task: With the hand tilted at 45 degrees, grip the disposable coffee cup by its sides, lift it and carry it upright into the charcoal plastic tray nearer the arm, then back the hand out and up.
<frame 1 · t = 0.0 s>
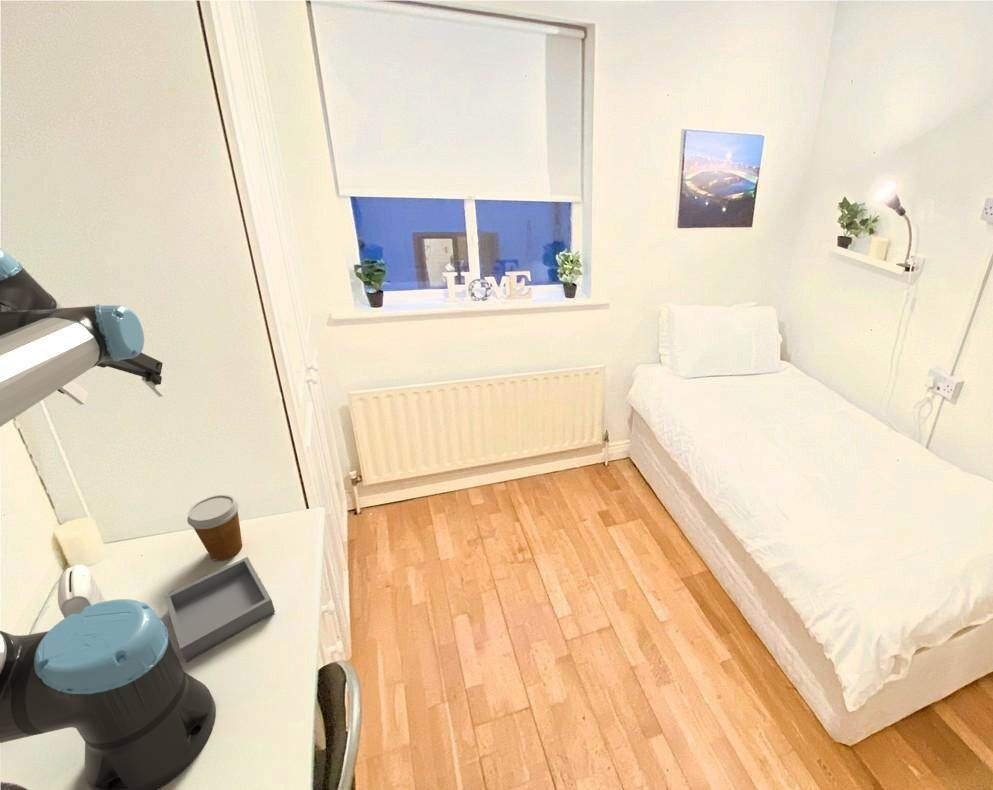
hand: (123, 394, 90), 36 cm above the table, tool tilted 35°, fingers open, 13 cm apart
charcoal tray: (222, 610, 86), on the table
disposable coffee cup: (226, 551, 101), on the table
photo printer: (97, 628, 83), on the table
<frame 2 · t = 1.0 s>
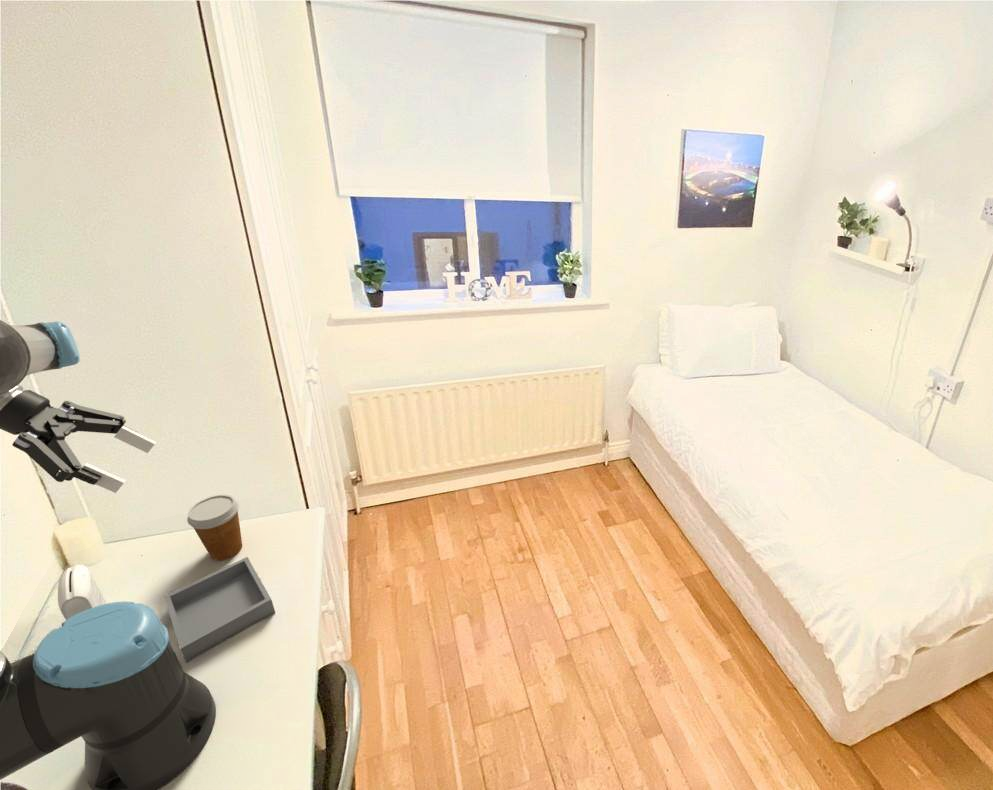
hand: (137, 466, 88), 24 cm above the table, tool tilted 45°, fingers open, 13 cm apart
nothing on the table moved.
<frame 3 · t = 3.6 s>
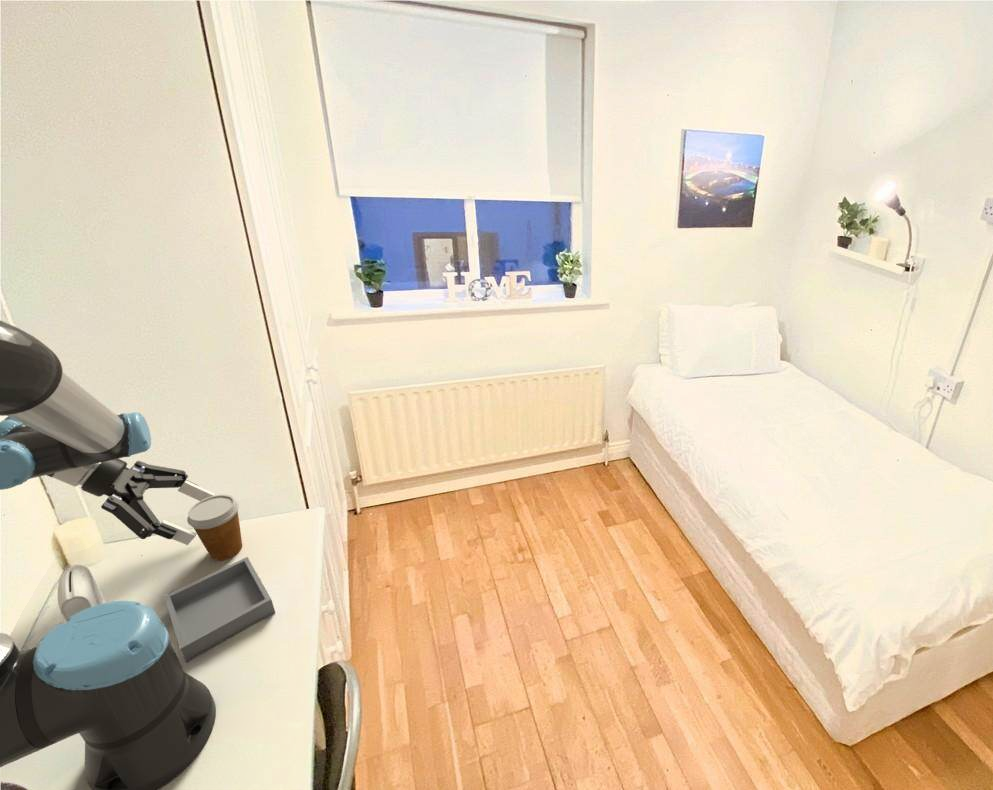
hand: (202, 517, 97), 9 cm above the table, tool tilted 45°, fingers open, 13 cm apart
nothing on the table moved.
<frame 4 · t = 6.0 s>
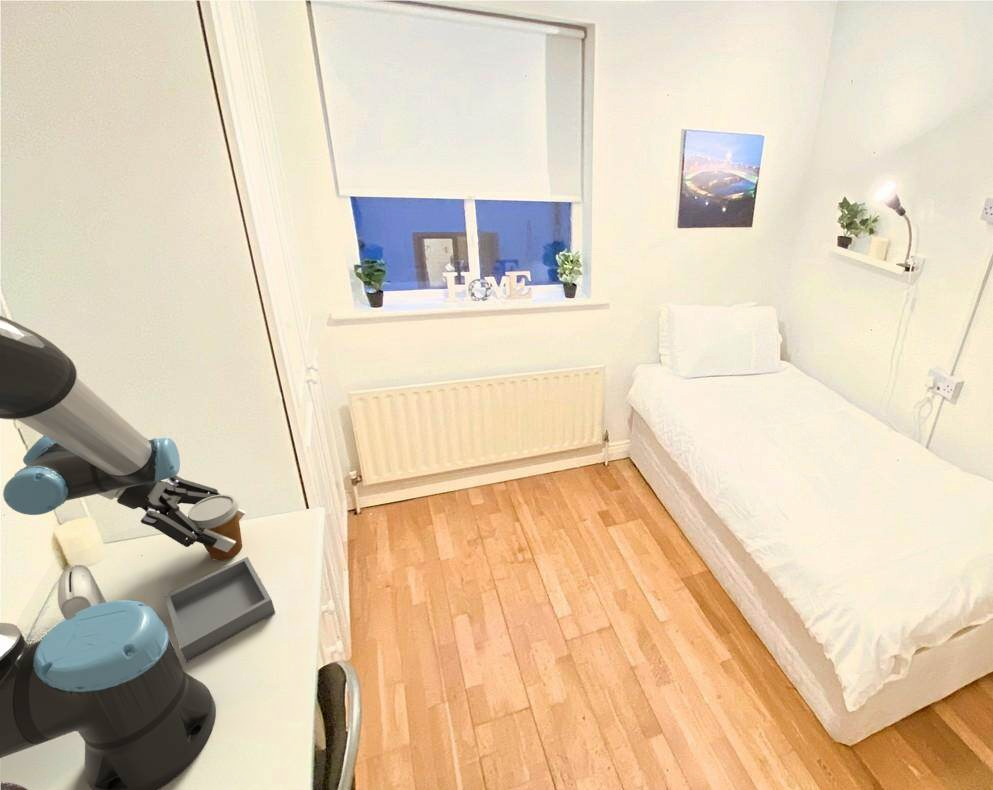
hand: (237, 531, 99), 5 cm above the table, tool tilted 45°, fingers closed on disposable coffee cup, 9 cm apart
disposable coffee cup: (226, 550, 101), on the table, touching gripper
everything else where it was.
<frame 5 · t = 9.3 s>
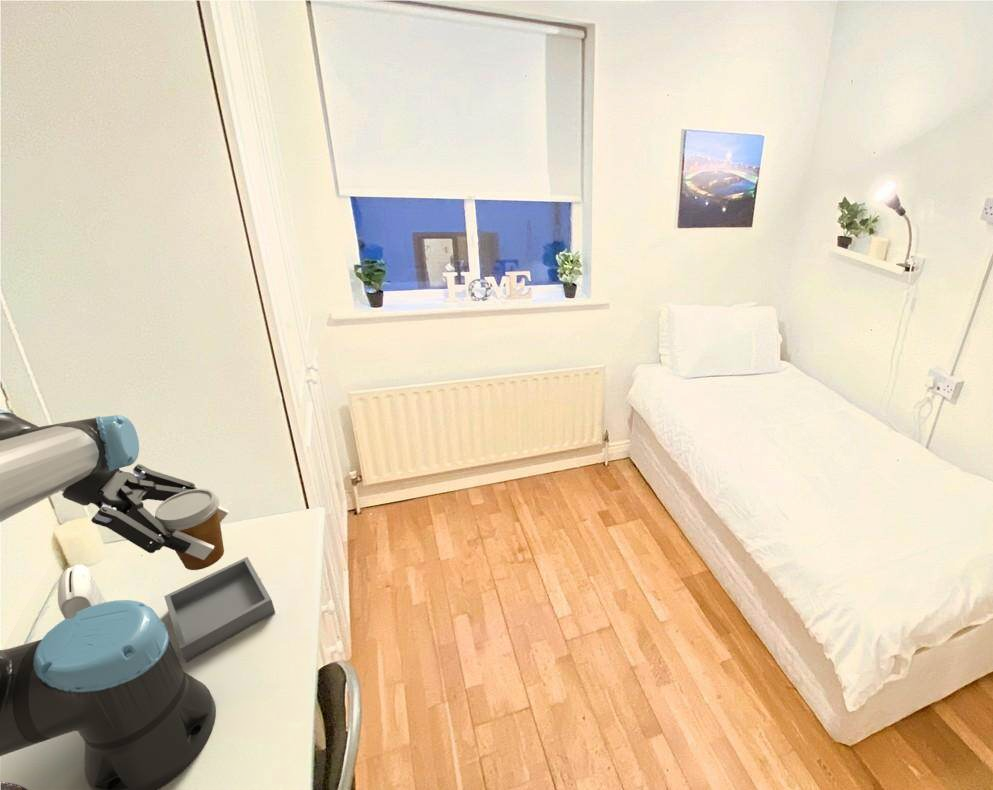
hand: (217, 533, 81), 17 cm above the table, tool tilted 45°, fingers closed on disposable coffee cup, 9 cm apart
disposable coffee cup: (204, 558, 82), point 12 cm above the table, touching gripper
everything else where it was.
when the fingers open (7 cm above the table, at t = 12.9 s): disposable coffee cup drops 2 cm, resting on charcoal tray.
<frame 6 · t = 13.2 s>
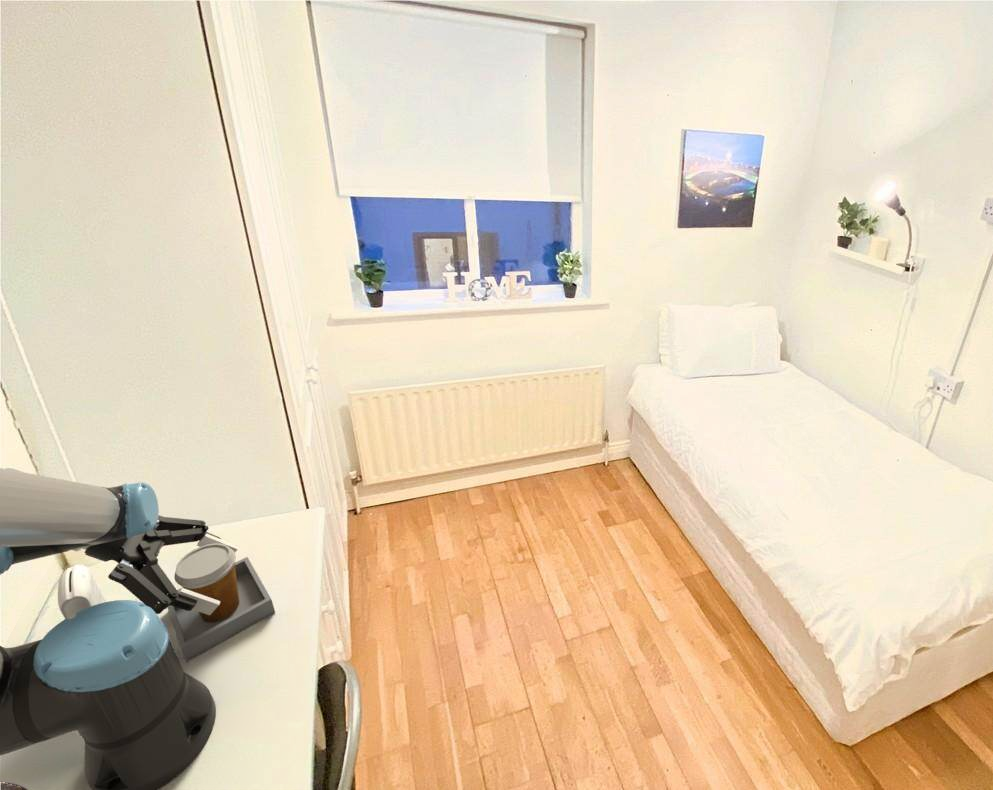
hand: (225, 578, 83), 8 cm above the table, tool tilted 45°, fingers open, 13 cm apart
disposable coffee cup: (221, 608, 86), resting on charcoal tray
everything else where it was.
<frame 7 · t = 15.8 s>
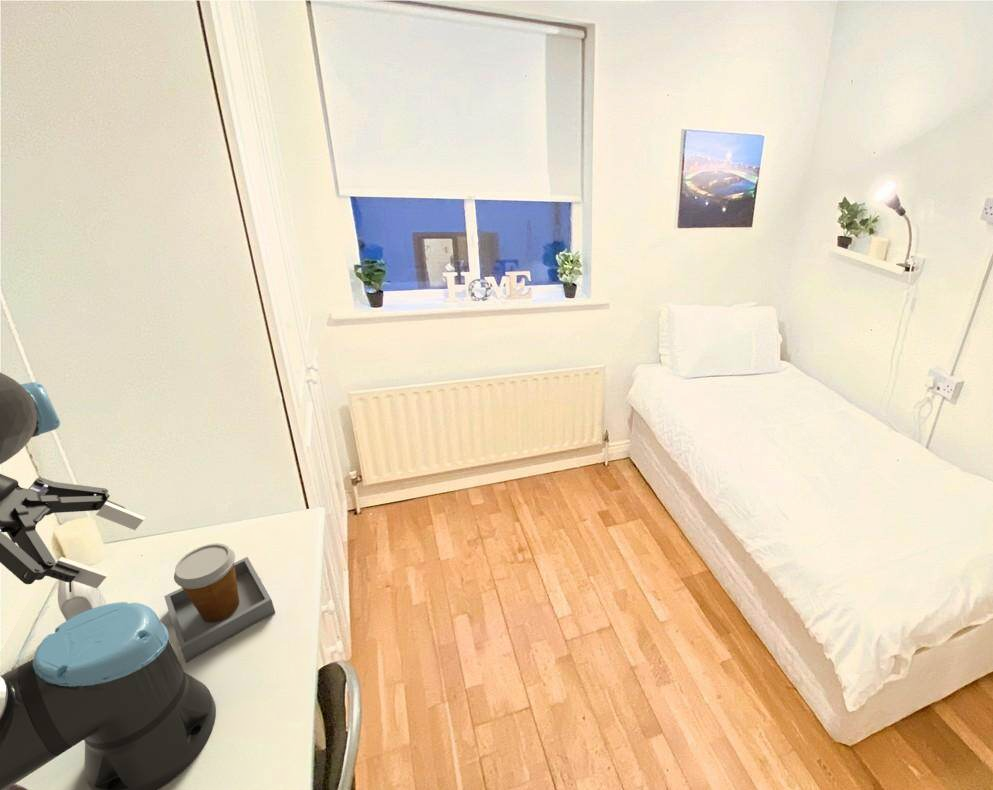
hand: (123, 550, 76), 18 cm above the table, tool tilted 45°, fingers open, 13 cm apart
nothing on the table moved.
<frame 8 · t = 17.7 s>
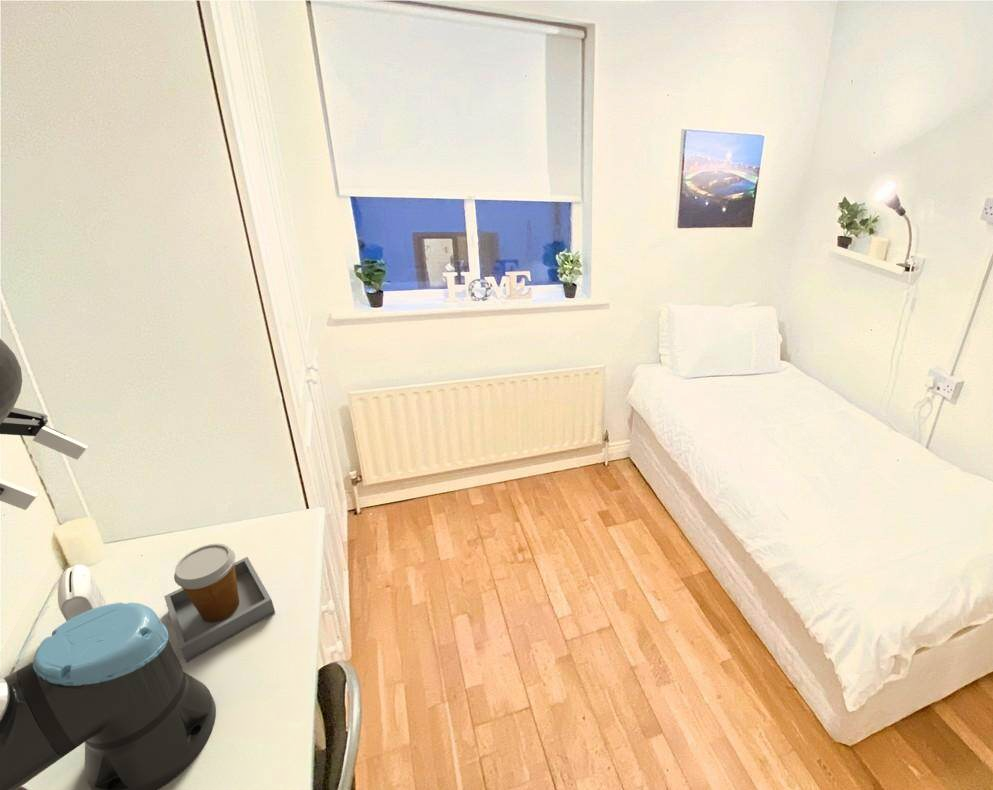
hand: (59, 475, 71), 33 cm above the table, tool tilted 45°, fingers open, 13 cm apart
nothing on the table moved.
at the end: disposable coffee cup inside the target area on the charcoal tray (0.2 cm from its centre), point 0.4 cm above the charcoal tray's base; disposable coffee cup tilted 0°; the gripper is holding nothing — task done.
